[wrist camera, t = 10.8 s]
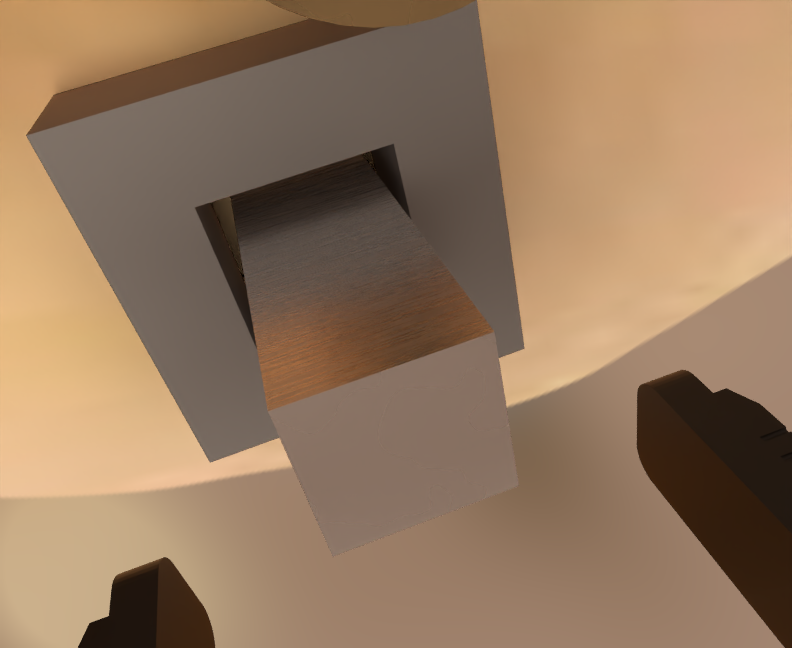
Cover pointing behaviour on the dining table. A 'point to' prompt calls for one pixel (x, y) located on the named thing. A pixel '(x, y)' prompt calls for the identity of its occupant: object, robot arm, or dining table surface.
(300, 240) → the square bit
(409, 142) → the socket block
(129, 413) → the dining table surface
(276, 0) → the round bit
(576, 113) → the dining table surface
